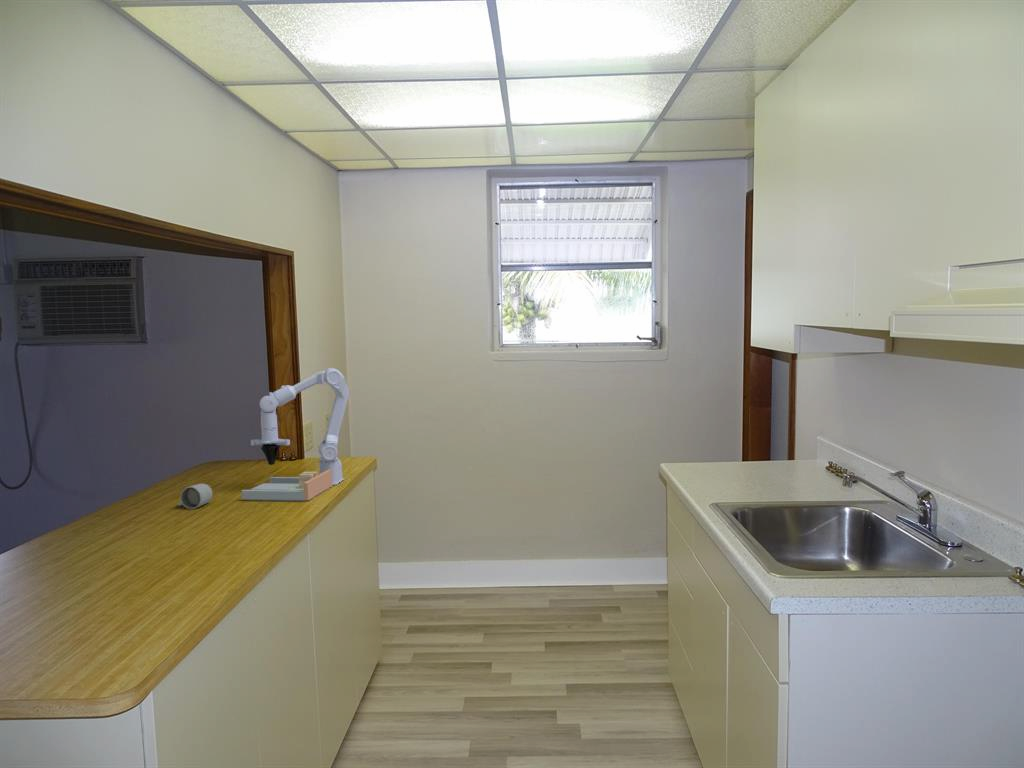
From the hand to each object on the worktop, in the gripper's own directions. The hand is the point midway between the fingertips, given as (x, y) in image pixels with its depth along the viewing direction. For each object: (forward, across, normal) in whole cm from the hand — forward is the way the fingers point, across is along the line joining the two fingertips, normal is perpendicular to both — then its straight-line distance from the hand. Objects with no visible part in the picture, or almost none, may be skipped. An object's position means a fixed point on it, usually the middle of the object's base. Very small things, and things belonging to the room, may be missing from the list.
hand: (271, 464), depth 253 cm
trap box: (+9, +9, -6) cm, 14 cm away
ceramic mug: (+10, -16, -24) cm, 31 cm away
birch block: (+7, +17, -6) cm, 19 cm away
